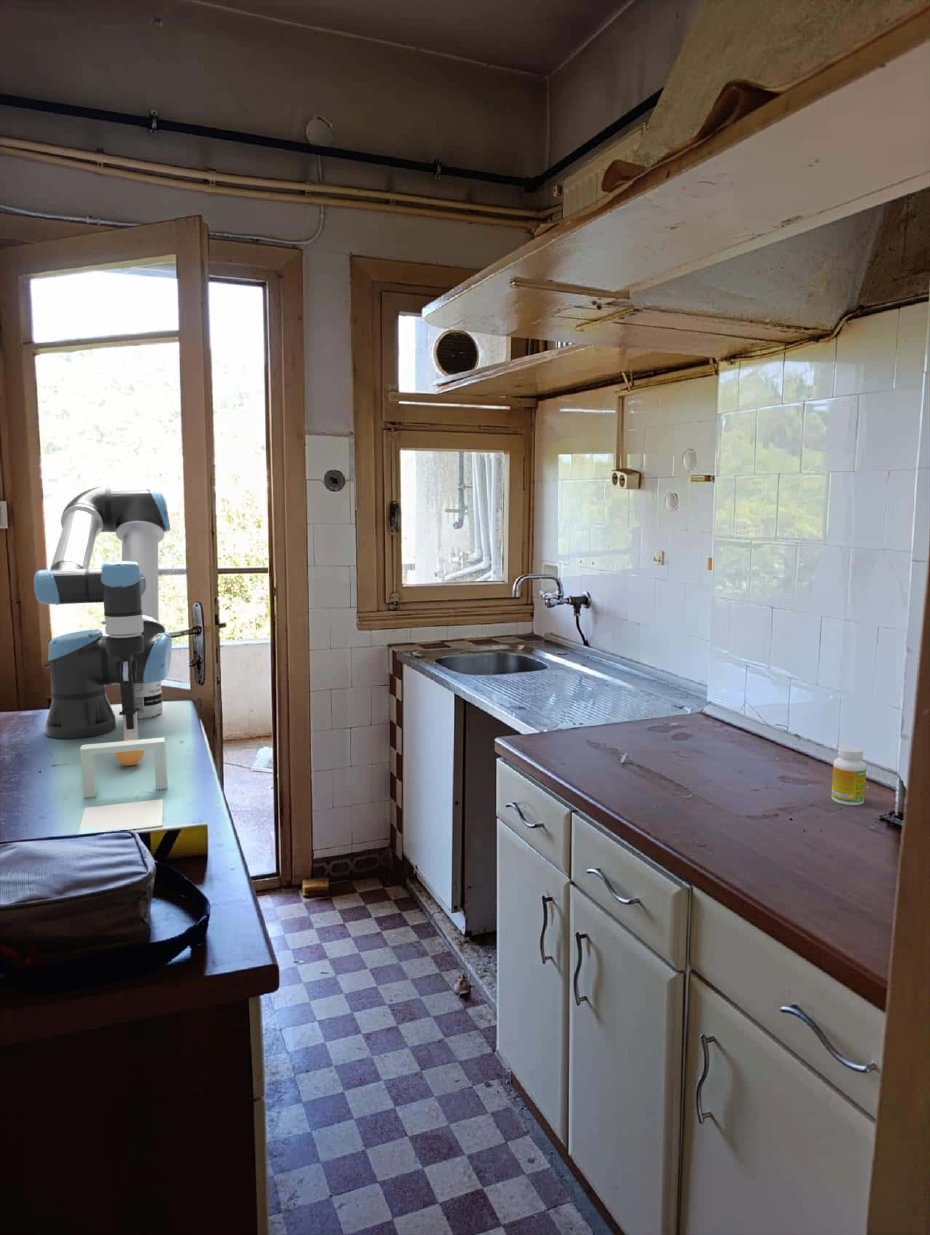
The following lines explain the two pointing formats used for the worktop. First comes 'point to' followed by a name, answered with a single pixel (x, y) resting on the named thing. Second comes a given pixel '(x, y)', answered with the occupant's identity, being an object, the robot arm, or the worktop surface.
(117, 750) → the bridge
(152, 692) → the supplement can
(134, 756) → the ball
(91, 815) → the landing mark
